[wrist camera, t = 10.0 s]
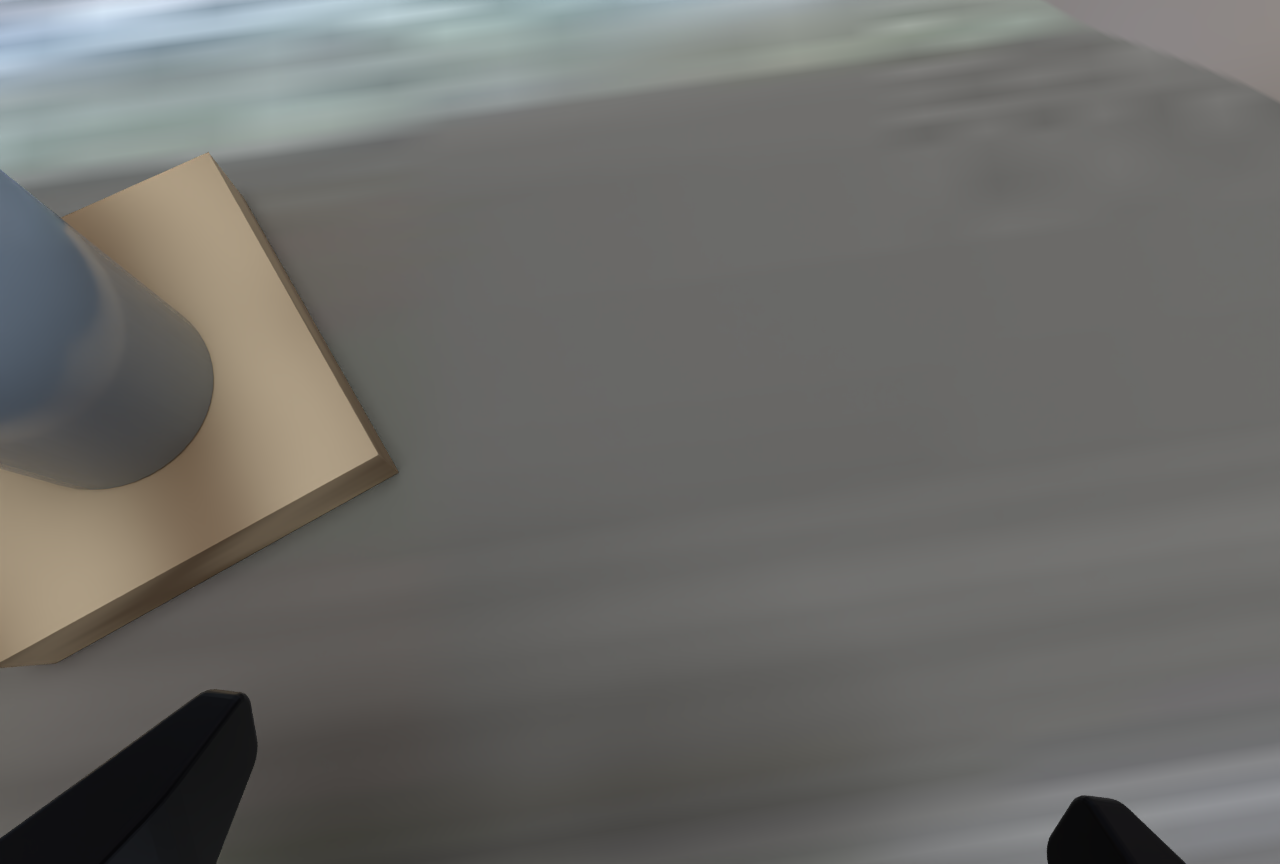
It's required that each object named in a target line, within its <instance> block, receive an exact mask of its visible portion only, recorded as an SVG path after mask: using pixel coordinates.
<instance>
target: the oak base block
mask: <svg viewBox="0 0 1280 864" xmlns="http://www.w3.org/2000/svg"><path fill="white" fill-rule="evenodd" d="M62 219H63V220H64V221H65V222H67V223H68V224H69V225H70V226H72V227H73V228H74V229H75V230H77V231H78V232H79V233H80V234H82V235H83V236H84V237H85V238H87V239H88V240H89V241H90V242H92V243H93V244H94V245H95V246H97V247H98V248H99V249H100V250H102V251H103V252H104V253H105V254H107V255H108V256H109V257H110V258H112V259H113V260H114V261H115V262H117V263H118V264H119V265H120V266H122V267H123V268H124V269H125V270H126V271H128V272H129V273H130V274H131V275H133V276H134V277H135V278H136V279H138V280H139V281H140V282H141V283H143V284H144V285H145V286H146V287H148V288H149V289H150V290H151V291H153V292H154V293H155V294H156V295H158V296H159V297H160V298H161V299H163V300H164V301H165V302H166V303H168V304H169V305H170V306H171V307H173V308H174V309H175V310H176V311H178V312H179V313H180V314H181V315H183V316H184V317H185V318H186V319H187V320H188V321H189V322H190V323H191V324H192V325H193V326H194V327H195V328H196V330H197V331H198V332H199V334H200V335H201V337H202V339H203V340H204V342H205V344H206V346H207V349H208V351H209V354H210V358H211V362H212V367H213V377H214V378H213V392H212V397H211V402H210V405H209V409H208V412H207V415H206V417H205V419H204V421H203V423H202V425H201V427H200V428H199V430H198V432H197V433H196V435H195V436H194V438H193V439H192V440H191V441H190V443H189V444H188V445H187V446H186V447H185V449H184V450H183V451H182V452H181V453H180V454H178V455H177V456H176V457H175V458H174V459H173V460H172V461H170V462H169V463H168V464H166V465H165V466H164V467H162V468H161V469H159V470H158V471H156V472H154V473H152V474H151V475H149V476H147V477H145V478H142V479H140V480H138V481H136V482H132V483H129V484H126V485H123V486H119V487H114V488H108V489H97V490H86V489H74V488H69V487H64V486H60V485H57V484H53V483H49V482H46V481H42V480H39V479H35V478H32V477H28V476H25V475H21V474H17V473H14V472H10V471H7V470H3V469H0V668H5V667H17V666H29V665H42V664H54V663H57V662H59V661H61V660H63V659H65V658H66V657H68V656H70V655H72V654H74V653H75V652H77V651H79V650H81V649H83V648H84V647H86V646H88V645H90V644H92V643H93V642H95V641H97V640H99V639H100V638H102V637H104V636H106V635H108V634H109V633H111V632H113V631H115V630H117V629H118V628H120V627H122V626H124V625H126V624H127V623H129V622H131V621H133V620H135V619H136V618H138V617H140V616H142V615H144V614H145V613H147V612H149V611H151V610H153V609H154V608H156V607H158V606H160V605H162V604H163V603H165V602H167V601H169V600H171V599H172V598H174V597H176V596H178V595H180V594H181V593H183V592H185V591H187V590H189V589H190V588H192V587H194V586H196V585H198V584H199V583H201V582H203V581H205V580H206V579H208V578H210V577H212V576H214V575H215V574H217V573H219V572H221V571H223V570H224V569H226V568H228V567H230V566H232V565H233V564H235V563H237V562H239V561H241V560H242V559H244V558H246V557H248V556H250V555H251V554H253V553H255V552H257V551H259V550H260V549H262V548H264V547H266V546H268V545H269V544H271V543H273V542H275V541H277V540H278V539H280V538H282V537H284V536H286V535H287V534H289V533H291V532H293V531H295V530H296V529H298V528H300V527H302V526H303V525H305V524H307V523H309V522H311V521H312V520H314V519H316V518H318V517H320V516H321V515H323V514H325V513H327V512H329V511H330V510H332V509H334V508H336V507H338V506H339V505H341V504H343V503H345V502H347V501H348V500H350V499H352V498H354V497H356V496H357V495H359V494H361V493H363V492H365V491H366V490H368V489H370V488H372V487H374V486H375V485H377V484H379V483H381V482H383V481H384V480H386V479H388V478H390V477H392V476H393V475H395V474H397V473H399V472H398V470H397V468H396V467H395V465H394V463H393V461H392V459H391V458H390V456H389V454H388V452H387V451H386V449H385V447H384V445H383V444H382V442H381V440H380V438H379V436H378V435H377V433H376V431H375V429H374V428H373V426H372V424H371V422H370V421H369V419H368V417H367V415H366V413H365V412H364V410H363V408H362V406H361V405H360V403H359V401H358V399H357V398H356V396H355V394H354V392H353V390H352V389H351V387H350V385H349V383H348V382H347V380H346V378H345V376H344V375H343V373H342V371H341V369H340V367H339V366H338V364H337V362H336V360H335V359H334V357H333V355H332V353H331V352H330V350H329V348H328V346H327V344H326V343H325V341H324V339H323V337H322V336H321V334H320V332H319V330H318V329H317V327H316V325H315V323H314V321H313V320H312V318H311V316H310V314H309V313H308V311H307V309H306V307H305V306H304V304H303V302H302V300H301V298H300V297H299V295H298V293H297V291H296V290H295V288H294V286H293V284H292V283H291V281H290V279H289V277H288V275H287V274H286V272H285V270H284V268H283V267H282V265H281V263H280V261H279V259H278V258H277V256H276V254H275V252H274V251H273V249H272V247H271V245H270V244H269V242H268V240H267V238H266V236H265V235H264V233H263V231H262V229H261V228H260V226H259V224H258V222H257V221H256V219H255V217H254V215H253V213H252V212H251V210H250V208H249V206H248V205H247V203H246V201H245V199H244V198H243V197H242V195H241V194H240V193H239V191H238V190H237V189H236V188H235V186H234V185H233V184H232V182H231V181H230V180H229V178H228V177H227V176H226V175H225V173H224V172H223V171H222V169H221V168H220V167H219V165H218V164H217V163H216V162H215V160H214V159H213V158H212V156H211V155H210V154H209V152H208V153H205V154H203V155H201V156H199V157H196V158H194V159H192V160H190V161H188V162H185V163H183V164H181V165H179V166H176V167H174V168H172V169H170V170H167V171H165V172H163V173H161V174H158V175H156V176H154V177H152V178H149V179H147V180H145V181H143V182H140V183H138V184H136V185H134V186H131V187H129V188H127V189H125V190H122V191H120V192H118V193H116V194H113V195H111V196H109V197H107V198H104V199H102V200H100V201H98V202H95V203H93V204H91V205H89V206H86V207H84V208H82V209H80V210H77V211H75V212H73V213H71V214H68V215H66V216H64V217H62Z"/></svg>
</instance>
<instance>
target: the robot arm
mask: <svg viewBox="0 0 1280 864" xmlns="http://www.w3.org/2000/svg"><path fill="white" fill-rule="evenodd" d="M256 755H257V737H256V731H255V725H254V719H253V714H252V708H251V703H250V699H249V698H248V696H247V695H246V694H244V693H241V692H233V691H225V690H216V689H214V690H207V691H205V692H202V693H200V694H199V695H197V696H196V697H195V698H193V699H192V700H190V701H189V702H188V703H186V704H185V705H184V706H182V707H181V708H179V709H178V710H177V711H175V712H174V713H173V714H171V715H170V716H168V717H167V718H166V719H164V720H163V721H161V722H160V723H159V724H157V725H156V726H155V727H153V728H152V729H150V730H149V731H148V732H146V733H145V734H144V735H142V736H141V737H139V738H138V739H137V740H135V741H134V742H133V743H131V744H130V745H128V746H127V747H126V748H124V749H123V750H121V751H120V752H119V753H117V754H116V755H115V756H113V757H112V758H110V759H109V760H108V761H106V762H105V763H104V764H102V765H101V766H99V767H98V768H97V769H95V770H94V771H93V772H91V773H90V774H88V775H87V776H86V777H84V778H83V779H81V780H80V781H79V782H77V783H76V784H75V785H73V786H72V787H70V788H69V789H68V790H66V791H65V792H64V793H62V794H61V795H59V796H58V797H57V798H55V799H54V800H52V801H51V802H50V803H48V804H47V805H46V806H44V807H43V808H41V809H40V810H39V811H37V812H36V813H35V814H33V815H32V816H30V817H29V818H28V819H26V820H25V821H24V822H22V823H21V824H19V825H18V826H17V827H15V828H14V829H12V830H11V831H10V832H8V833H7V834H6V835H4V836H3V837H1V838H0V864H216V862H217V859H218V857H219V854H220V852H221V849H222V846H223V844H224V841H225V839H226V836H227V834H228V831H229V828H230V826H231V823H232V821H233V818H234V816H235V813H236V810H237V808H238V805H239V803H240V800H241V798H242V795H243V792H244V790H245V787H246V785H247V782H248V780H249V777H250V774H251V772H252V769H253V766H254V763H255V760H256ZM1047 860H1048V864H1186V863H1185V862H1184V861H1183V860H1182V859H1181V858H1180V857H1179V856H1178V855H1176V854H1175V853H1174V852H1173V851H1172V850H1171V849H1170V848H1169V847H1168V846H1167V845H1166V844H1165V843H1164V842H1163V841H1162V840H1161V839H1160V838H1159V837H1158V836H1157V835H1156V834H1155V833H1153V832H1152V831H1151V830H1150V829H1149V828H1148V827H1147V826H1146V825H1145V824H1144V823H1143V822H1142V821H1141V820H1140V819H1139V818H1138V817H1137V816H1136V815H1135V814H1134V813H1133V812H1132V811H1131V810H1129V809H1128V808H1127V807H1126V806H1125V805H1124V804H1122V803H1120V802H1119V801H1117V800H1114V799H1110V798H1102V797H1094V796H1079V797H1077V798H1075V799H1074V800H1073V802H1072V803H1071V804H1070V806H1069V808H1068V809H1067V811H1066V812H1065V814H1064V815H1063V817H1062V818H1061V820H1060V822H1059V823H1058V825H1057V826H1056V828H1055V829H1054V831H1053V833H1052V834H1051V836H1050V838H1049V841H1048V845H1047Z"/></svg>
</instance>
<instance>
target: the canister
mask: <svg viewBox="0 0 1280 864" xmlns="http://www.w3.org/2000/svg"><path fill="white" fill-rule="evenodd" d="M213 378H214V377H213V367H212V362H211V358H210V354H209V351H208V349H207V346H206V344H205V342H204V340H203V339H202V337H201V335H200V334H199V332H198V331H197V330H196V328H195V327H194V326H193V325H192V324H191V323H190V322H189V321H188V320H187V319H186V318H185V317H184V316H183V315H181V314H180V313H179V312H178V311H176V310H175V309H174V308H173V307H171V306H170V305H169V304H168V303H166V302H165V301H164V300H163V299H161V298H160V297H159V296H158V295H156V294H155V293H154V292H153V291H151V290H150V289H149V288H148V287H146V286H145V285H144V284H143V283H141V282H140V281H139V280H138V279H136V278H135V277H134V276H133V275H131V274H130V273H129V272H128V271H126V270H125V269H124V268H123V267H122V266H120V265H119V264H118V263H117V262H115V261H114V260H113V259H112V258H110V257H109V256H108V255H107V254H105V253H104V252H103V251H102V250H100V249H99V248H98V247H97V246H95V245H94V244H93V243H92V242H90V241H89V240H88V239H87V238H85V237H84V236H83V235H82V234H80V233H79V232H78V231H77V230H75V229H74V228H73V227H72V226H70V225H69V224H68V223H67V222H65V221H64V220H63V219H62V218H60V217H59V216H58V215H57V214H55V213H54V212H53V211H52V210H50V209H49V208H48V207H47V206H45V205H44V204H43V203H42V202H40V201H39V200H38V199H37V198H35V197H34V196H33V195H32V194H30V193H29V192H28V191H27V190H25V189H24V188H23V187H22V186H20V185H19V184H18V183H17V182H15V181H14V180H13V179H12V178H10V177H9V176H8V175H7V174H5V173H4V172H3V171H2V170H0V469H3V470H7V471H10V472H14V473H17V474H21V475H25V476H28V477H32V478H35V479H39V480H42V481H46V482H49V483H53V484H57V485H60V486H64V487H69V488H74V489H86V490H97V489H108V488H114V487H119V486H123V485H126V484H129V483H132V482H136V481H138V480H140V479H142V478H145V477H147V476H149V475H151V474H152V473H154V472H156V471H158V470H159V469H161V468H162V467H164V466H165V465H166V464H168V463H169V462H170V461H172V460H173V459H174V458H175V457H176V456H177V455H178V454H180V453H181V452H182V451H183V450H184V449H185V447H186V446H187V445H188V444H189V443H190V441H191V440H192V439H193V438H194V436H195V435H196V433H197V432H198V430H199V428H200V427H201V425H202V423H203V421H204V419H205V417H206V415H207V412H208V409H209V405H210V402H211V397H212V392H213Z"/></svg>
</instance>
